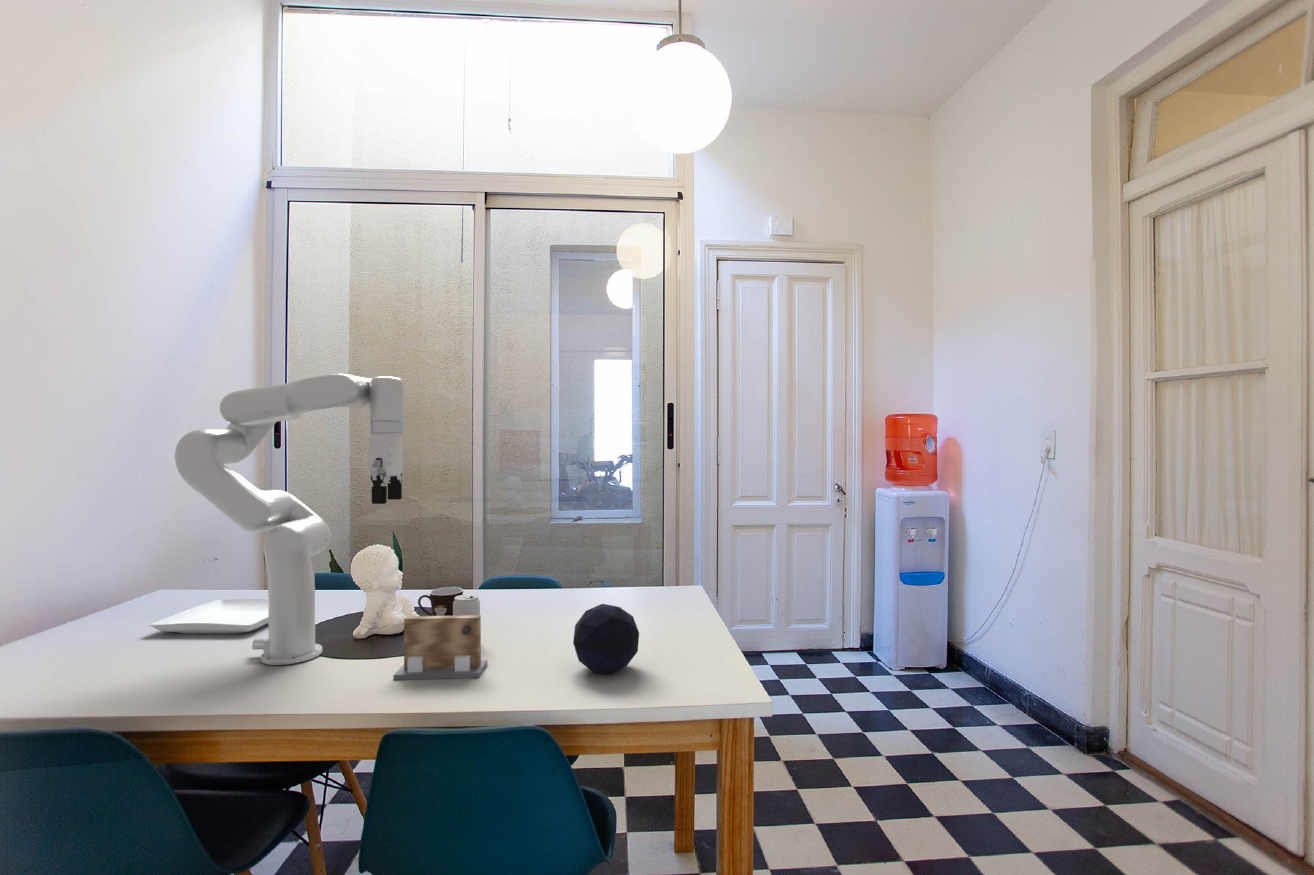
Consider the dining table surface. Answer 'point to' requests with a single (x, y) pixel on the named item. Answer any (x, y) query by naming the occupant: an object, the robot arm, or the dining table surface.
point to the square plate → (218, 617)
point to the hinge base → (460, 670)
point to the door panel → (442, 640)
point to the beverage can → (466, 605)
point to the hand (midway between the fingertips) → (387, 501)
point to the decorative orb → (606, 638)
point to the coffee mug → (442, 601)
